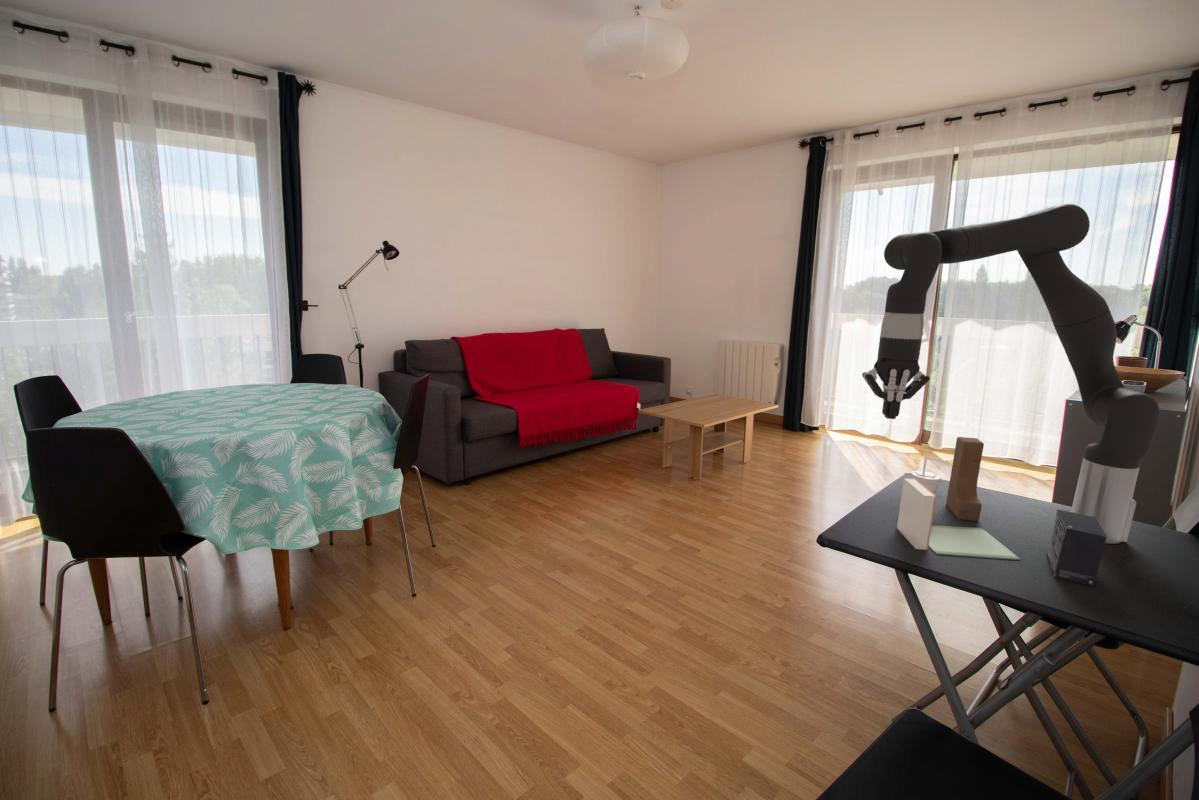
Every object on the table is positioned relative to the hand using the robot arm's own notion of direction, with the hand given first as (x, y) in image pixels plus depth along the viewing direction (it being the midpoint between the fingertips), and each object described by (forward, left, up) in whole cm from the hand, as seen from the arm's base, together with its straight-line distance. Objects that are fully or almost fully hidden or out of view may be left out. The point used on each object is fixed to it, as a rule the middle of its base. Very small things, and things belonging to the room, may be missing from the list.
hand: (889, 417), depth 117 cm
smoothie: (-16, -15, -27) cm, 35 cm away
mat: (-18, 0, -27) cm, 32 cm away
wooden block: (-26, -16, -27) cm, 41 cm away
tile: (-8, 0, -27) cm, 28 cm away
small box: (-34, +10, -27) cm, 44 cm away
